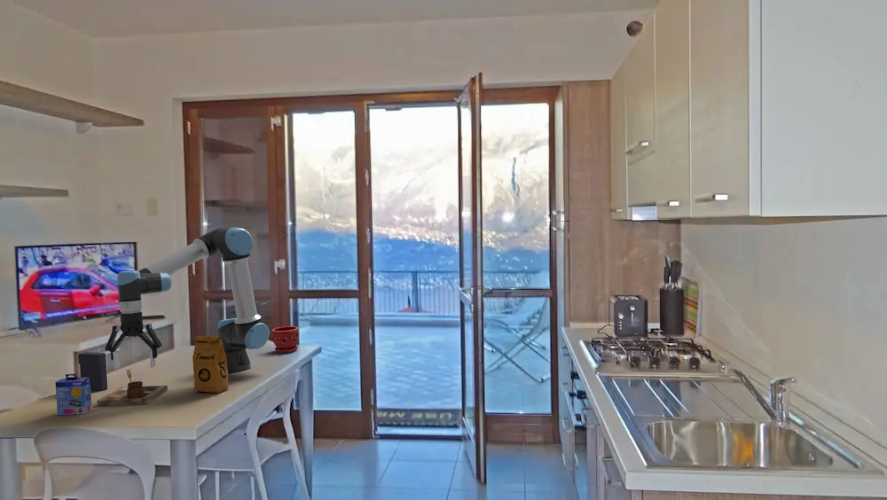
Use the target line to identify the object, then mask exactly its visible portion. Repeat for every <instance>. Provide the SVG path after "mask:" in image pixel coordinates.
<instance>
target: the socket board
mask: <svg viewBox="0 0 887 500" xmlns="http://www.w3.org/2000/svg"><path fill="white" fill-rule="evenodd" d="M142 386H143V387H144V397H143V398H136V399H127V389H128V388H129V387H128V386H121V387H119V388H118V389H115V390H114V391H112V392H110V393H108V394H106V395H105V396H103V397H101V398H99V399H97V400H96V405H97V407H104V406H105V407H107V406H131V405H132V406H133V405H134V406H135V405H147V404H149V403H150V402H152V401H153V400H155V399H157V398H158V397H159V396H162V395H163V394H164V393H166V392H167V391H168V385H161V384H160V385H142Z"/></svg>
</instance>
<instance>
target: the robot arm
mask: <svg viewBox="0 0 887 500" xmlns="http://www.w3.org/2000/svg"><path fill="white" fill-rule="evenodd" d="M252 248H254V239H253V236H252V235H251V233H250V232H249V231H248V230H246V229H244V228H241V227H220V228H215V229H212V230H210V231H208V232H207V233H204V234H203V235H201V236H198V237H196V238H195V239H194V240H193V241H192V243H191V244H188V245H186V246H185V247H183V248H180V249H179V250H177V251H175V252H173V253H171V254H169V255H167V256H165V257H163V258H161V259H159V260H158V261H155V262H153V263H152V264H149V265H148V266H145V267H144V268H141V269H139V270H122V271H119V272H118V274H117V283H116V284H117V289H118V290H117V291H118V302H119V303H118V304H119V312H120V314H119V316H120V320H119V321H120V325H118V324H115V325H112V327H111V328H112V329H111V333H110V336H109V338H108V341H107V342H106V345H105V348H104V351H108V352H110V359H111V361H113V369H114V370H117V369H119V368H120V366H121V365H120V356H119V353H120V352H119V350H117V349H118V348H119V346H120V345H121V344H122V343H123V341H124V340H125V339H126V338H127V337H128V338H130V337H134V338H136V337H138V338H140V339H141V340H142V341H143V342H144V343H145V344H146V345H147V347H149V348H150V350H149V360H150V361H149V363H150V368H151V369H152V368H154V367H156V358H158V349H159V348H162V346H163V344H162V342H161V340H160V338H158V336H157V334H156V332H155V330H154V328H153V324H152V323H150V322H149V323H147V324H144V322H143V320H144V318H143V312H142V309H143V308H142V307H143V305H142V296H143V295H148V294H157V293H165V292H168V291H169V290H170V289H171V287H172V278H171V276H172V275H174V274H175V273H177V272H178V271H181V270H183V269H184V268H186V267H188V266H190V265H192V264H194V263H196V262H198V261H200V260H202V259H203V260H206V259H209V258H210V257H213V256H221V260H222V262H223V263H225V264H226V265H227V266H226V267H227V271H228V276H229V277H228V278H229V282H230V285H231V286H230V287H231V292H232V298H233V302H234V303H233V304H234V308H235V314H236V317H235V318H234V317H233V318H227V319H221V320H219V321H218V323H217V335H218V336H220V338H221V341H222V343H223V348H224V351H225V354H226V362H227V369H228V373H236V372H243V371H246V370H249V369H251V367H252V365H251V360H250V358H249V355H248V352H247V349H248V350H259V349H262V348H263V347H264V346H265V345H266V344H267V342H268V340H269V338H270V329H269V327H268V325H266V324H265V323H263V319H262V315H260V314H259V313H258V311H257V306H256V300H255V295H254V289H253V283H252V278H251V274H250V267H249V263H248V261H249V259H250V258H251V254H250V253H251V251H252ZM144 329H145V331H146V332H147V334H146V332H144ZM119 331H121V334H120V335H119V337H118V339H117V340H116V337H117V335H118V334H119ZM115 340H116V341H115ZM114 342H115V343H114Z"/></svg>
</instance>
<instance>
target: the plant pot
mask: <svg viewBox="0 0 887 500" xmlns="http://www.w3.org/2000/svg"><path fill="white" fill-rule="evenodd" d="M271 334H272V340H273V344H274V346H275V348H274V350H275V352H277V353H278V354H279V353H281V354H287V353H293V352H295V351H297V350H298V349H299V346H298V345H297V344H298V342H299V336H300V335H299V327H298V326H291V325H290V326H288V325H287V326H280V327H279V326H277V327H275V328H272V331H271Z"/></svg>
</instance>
